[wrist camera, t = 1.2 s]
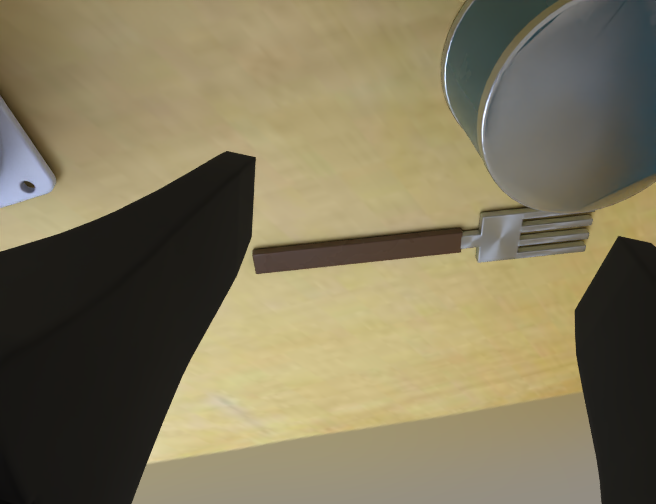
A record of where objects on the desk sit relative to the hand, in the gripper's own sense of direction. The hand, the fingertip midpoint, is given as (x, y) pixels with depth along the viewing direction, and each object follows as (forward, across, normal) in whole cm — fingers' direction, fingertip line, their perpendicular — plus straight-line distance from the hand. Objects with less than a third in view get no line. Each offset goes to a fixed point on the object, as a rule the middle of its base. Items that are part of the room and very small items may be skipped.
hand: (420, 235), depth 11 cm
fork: (+11, -1, +8) cm, 14 cm away
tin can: (+12, -4, 0) cm, 13 cm away
